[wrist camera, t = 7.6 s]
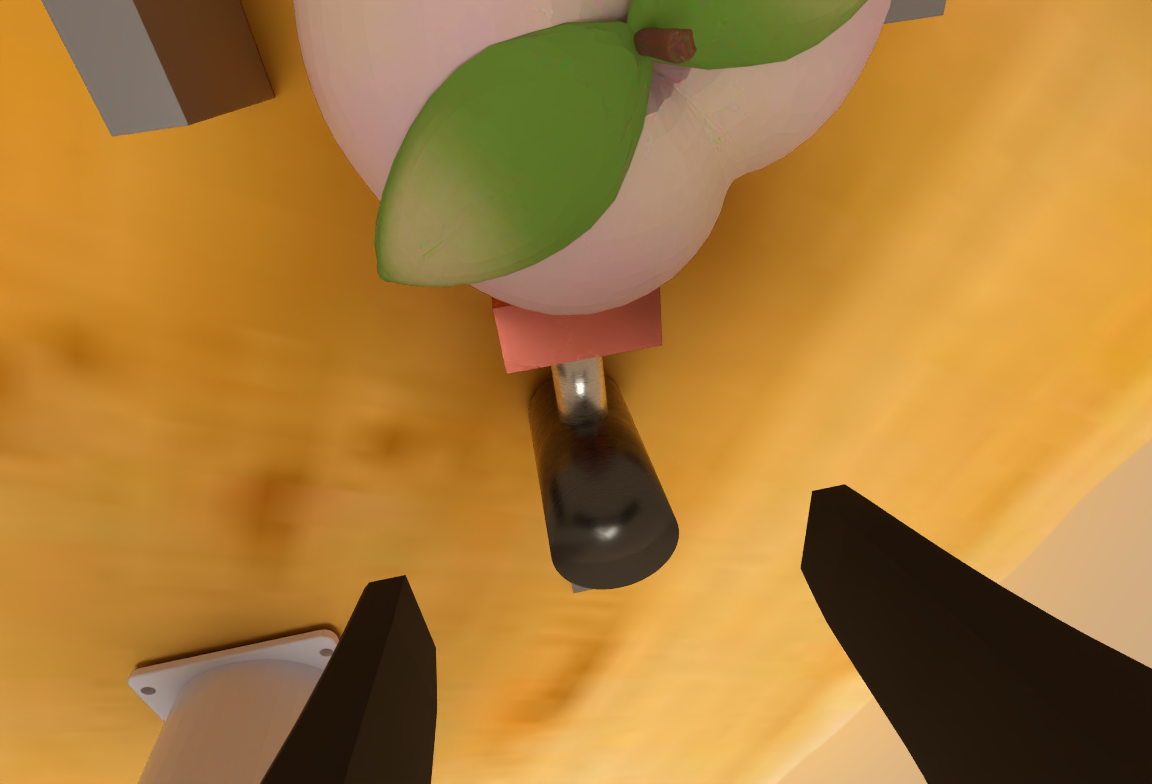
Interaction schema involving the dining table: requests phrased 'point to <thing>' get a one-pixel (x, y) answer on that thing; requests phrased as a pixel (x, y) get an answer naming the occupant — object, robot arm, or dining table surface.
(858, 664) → the robot arm
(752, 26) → the decorative fruit
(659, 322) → the kicker rod
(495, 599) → the dining table surface
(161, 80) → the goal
